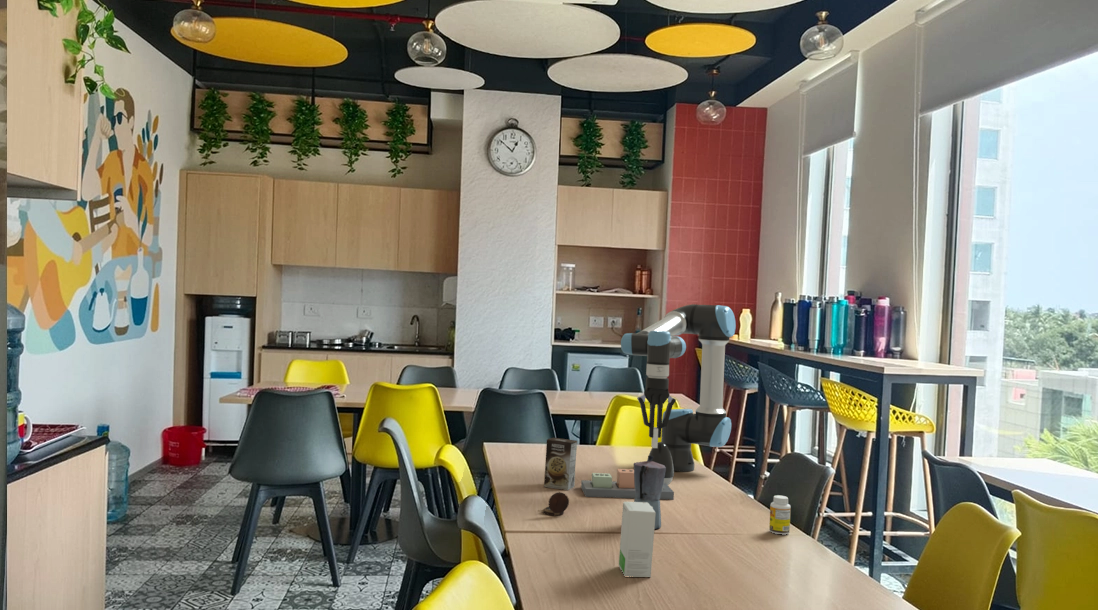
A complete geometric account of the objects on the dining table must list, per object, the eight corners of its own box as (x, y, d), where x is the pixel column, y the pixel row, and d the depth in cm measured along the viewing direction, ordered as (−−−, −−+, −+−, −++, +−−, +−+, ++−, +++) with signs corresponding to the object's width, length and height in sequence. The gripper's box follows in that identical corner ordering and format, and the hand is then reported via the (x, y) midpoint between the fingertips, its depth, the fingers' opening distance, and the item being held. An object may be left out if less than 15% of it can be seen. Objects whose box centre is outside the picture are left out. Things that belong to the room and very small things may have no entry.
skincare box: (618, 566, 191) (621, 500, 191) (645, 566, 192) (648, 501, 192) (624, 578, 183) (627, 509, 183) (653, 578, 183) (656, 510, 183)
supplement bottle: (770, 529, 232) (772, 493, 232) (790, 531, 230) (792, 496, 230) (768, 533, 227) (769, 497, 227) (788, 536, 225) (790, 500, 225)
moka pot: (667, 522, 233) (671, 453, 233) (657, 535, 219) (660, 462, 219) (635, 517, 237) (638, 450, 237) (622, 530, 222) (626, 458, 222)
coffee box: (543, 487, 271) (545, 439, 271) (550, 483, 277) (552, 436, 277) (568, 490, 268) (571, 442, 268) (575, 487, 274) (577, 439, 274)
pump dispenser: (672, 482, 288) (674, 440, 288) (674, 489, 278) (676, 445, 278) (643, 480, 289) (646, 438, 289) (644, 487, 279) (646, 443, 279)
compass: (558, 510, 241) (560, 486, 241) (568, 517, 234) (570, 492, 234) (533, 511, 239) (535, 486, 239) (543, 518, 231) (544, 493, 231)
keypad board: (665, 490, 275) (665, 483, 275) (673, 499, 262) (673, 492, 262) (581, 487, 273) (581, 480, 273) (585, 496, 260) (585, 488, 260)
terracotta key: (634, 484, 271) (634, 468, 271) (637, 488, 265) (638, 472, 265) (616, 483, 270) (617, 468, 270) (619, 487, 264) (620, 471, 265)
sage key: (608, 488, 270) (609, 472, 270) (611, 492, 264) (612, 476, 264) (591, 487, 270) (592, 472, 270) (593, 491, 264) (594, 476, 264)
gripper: (640, 377, 264) (637, 448, 264) (679, 378, 265) (676, 450, 265) (636, 375, 272) (633, 444, 272) (674, 376, 273) (671, 445, 273)
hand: (654, 447), depth 269 cm, fingers closed
